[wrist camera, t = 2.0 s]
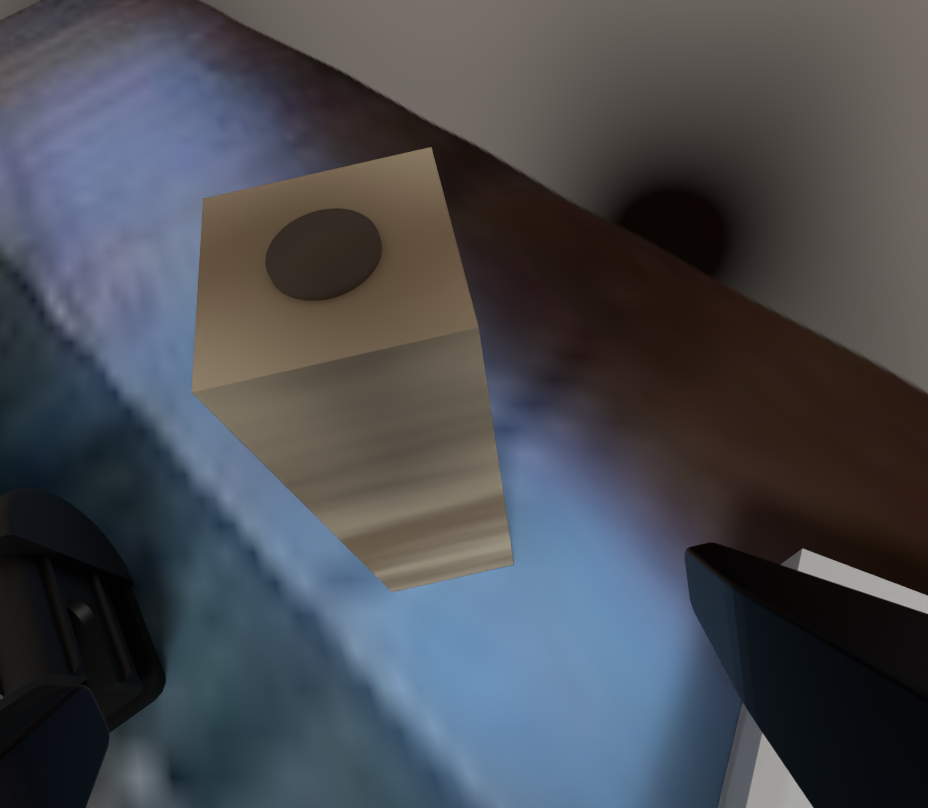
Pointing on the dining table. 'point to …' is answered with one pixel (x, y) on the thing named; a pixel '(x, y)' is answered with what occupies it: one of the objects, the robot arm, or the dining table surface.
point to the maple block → (356, 363)
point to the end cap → (68, 612)
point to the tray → (752, 757)
